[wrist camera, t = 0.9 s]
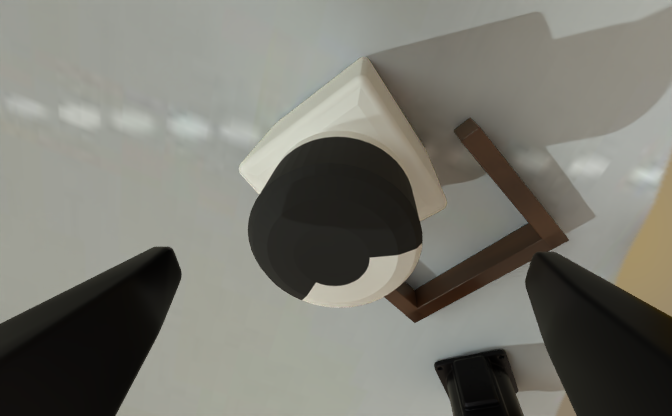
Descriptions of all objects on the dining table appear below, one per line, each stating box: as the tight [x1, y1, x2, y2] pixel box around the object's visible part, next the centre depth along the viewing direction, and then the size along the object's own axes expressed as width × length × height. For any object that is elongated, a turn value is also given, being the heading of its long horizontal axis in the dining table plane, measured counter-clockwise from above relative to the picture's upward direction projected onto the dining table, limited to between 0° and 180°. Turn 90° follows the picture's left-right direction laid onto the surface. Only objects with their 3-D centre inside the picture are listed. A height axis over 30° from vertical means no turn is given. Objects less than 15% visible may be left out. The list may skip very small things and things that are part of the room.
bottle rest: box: [384, 118, 569, 323], centre depth 23 cm, size 10×12×2 cm
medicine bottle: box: [239, 57, 447, 308], centre depth 16 cm, size 7×7×12 cm
